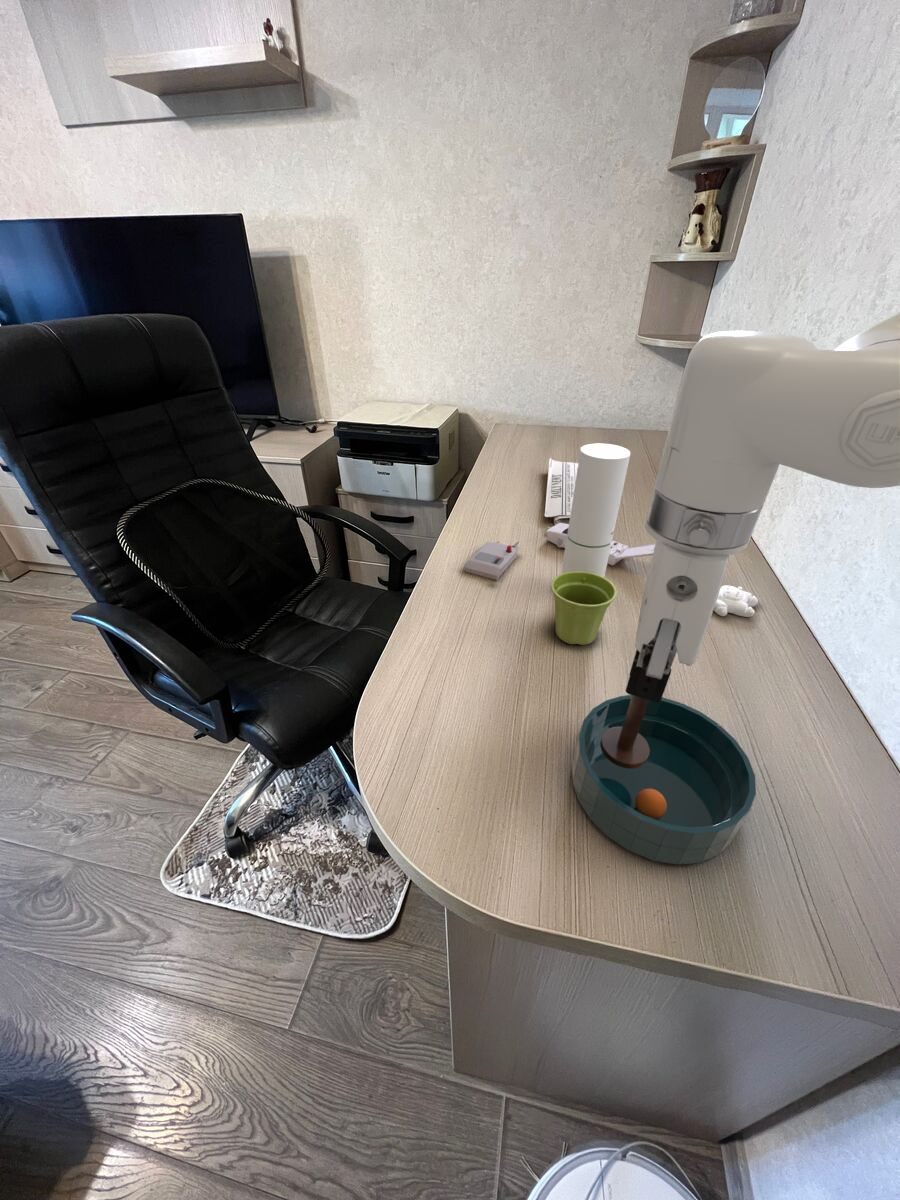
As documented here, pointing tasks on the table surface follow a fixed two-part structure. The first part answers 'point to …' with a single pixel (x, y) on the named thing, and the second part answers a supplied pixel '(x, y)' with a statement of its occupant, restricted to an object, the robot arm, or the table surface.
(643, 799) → the ball
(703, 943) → the table surface
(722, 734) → the bowl
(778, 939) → the table surface
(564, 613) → the plant pot
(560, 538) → the mobile phone
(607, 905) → the table surface
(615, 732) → the stirring stick
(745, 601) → the white toy figurine
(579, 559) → the cylindrical container
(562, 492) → the newspaper
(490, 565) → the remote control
